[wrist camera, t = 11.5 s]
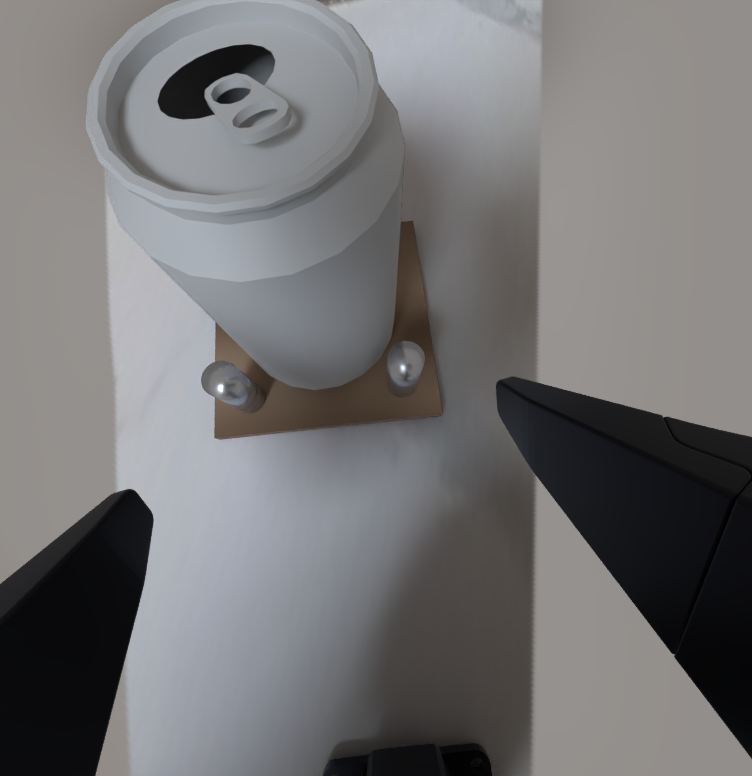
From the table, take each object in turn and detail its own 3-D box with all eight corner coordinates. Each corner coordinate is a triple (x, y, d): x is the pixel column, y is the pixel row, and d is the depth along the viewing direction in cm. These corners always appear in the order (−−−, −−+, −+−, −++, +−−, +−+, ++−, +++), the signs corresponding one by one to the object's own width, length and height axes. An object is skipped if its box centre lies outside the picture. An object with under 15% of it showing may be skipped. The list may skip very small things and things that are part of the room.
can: (340, 237, 21) (284, -87, 9) (423, 339, 19) (486, 100, 7) (223, 310, 20) (-11, 51, 8) (300, 424, 18) (145, 306, 6)
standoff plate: (440, 415, 18) (456, 395, 14) (219, 439, 18) (174, 425, 14) (412, 228, 21) (418, 168, 17) (221, 248, 21) (183, 192, 17)
